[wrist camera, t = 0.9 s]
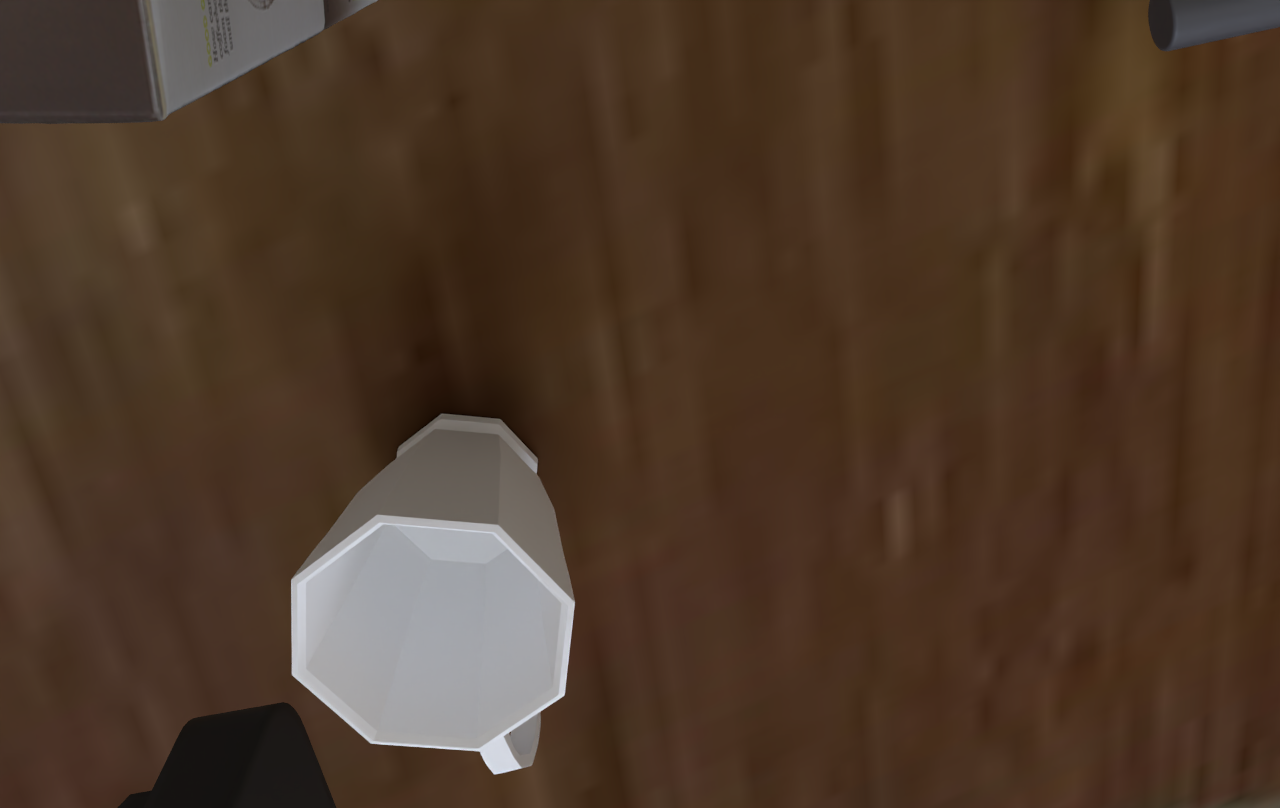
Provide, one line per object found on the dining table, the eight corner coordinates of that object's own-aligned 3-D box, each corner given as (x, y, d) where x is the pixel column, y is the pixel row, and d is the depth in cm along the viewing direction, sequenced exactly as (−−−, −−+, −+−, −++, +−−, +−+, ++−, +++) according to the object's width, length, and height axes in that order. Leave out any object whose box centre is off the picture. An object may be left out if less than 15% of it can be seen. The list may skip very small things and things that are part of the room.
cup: (544, 340, 33) (527, 476, 26) (640, 623, 37) (650, 809, 30) (310, 405, 34) (229, 556, 26) (430, 676, 38) (389, 871, 31)
